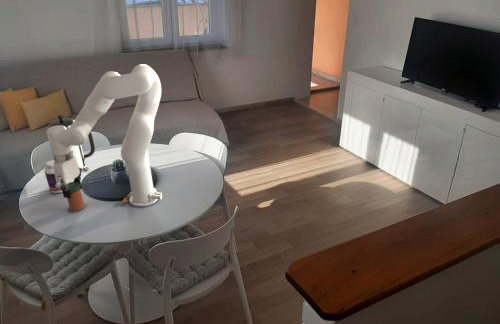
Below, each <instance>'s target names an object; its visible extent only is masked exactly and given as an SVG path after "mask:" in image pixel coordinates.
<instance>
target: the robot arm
mask: <svg viewBox="0 0 500 324" xmlns="http://www.w3.org/2000/svg"><path fill="white" fill-rule="evenodd" d="M135 96H138V97H137V99H136V104H135V107H134V110H133V112H132V115H131V117H130V119H129V123H128V127H127V131H126V134H125V136H124V137H123V141H122V144H121V149H120V157H121V160H122V161H123V162H124V163H125V164H126V170H127V176H128V180H129V185H130V192H132V196H131V197H130V199H128V201H129V203H130V205H131V206H134V207H137V208H138V207H139V208H141V207H148V206H152V205H154V203H156V202H157V201H158V200H160V201H161V200H162V199H163V193H162V192H158V191H157V188H155V187H154V182H153V177H152V170H151V164H150V163H151V162H150V157H149V147H150V144H151V141H152V138H153V135H154V130H155V118H156V116H157V112H158V109H159V105H160V102H161V98H162V83H161V80H160V77H159V76H158V74H157V73H156V71H155V70H154V69H153V68H152V67H151V66H150V65H147V64H143V63H142V64H141V63H140V64H138V65H135V67H133V69H132V70H131V72H130V73H123V74H119V73H118V72H116V71H114V70H113V71H112V70H111V71H107V72H105V73H104V74H103V75H102V76H101V78H100V79H99V80H98V81H97V83H96V84H95V87H94V88H93V90H92V91H91V93H90V94H89V96H88V97H87V99H86V100H85V102H84V105H83V107H82V108H81V110H80V111H79V113H78V114H77V116H76V117H75V119H73V120H74V122H73V123H72V125H71V127H70V128H68V129H67V128H66V127H65V126H61V125H58V126H53V127H50V128H49V127H48V129H46V137H47V139H48V142H49V146H50V150H51V153H52V157H53V160H54V162H53V166H54V174H55V178H56V182H57V183H56V185H55V187H56V188H58V189H60V190H62V192H61V193H62V196H63V198H64V199H67V198H71V194H70V191H69V190H68V183H70V182H79V183H80V186H81V188H80V190H83V186H82V182H81V180H82V178H81V177H82V171H83V169H82V168H80V167H79V166H78V163H77V161H76V158H75V156H74V155H73V151H72V147H71V146H79V145H81V146H82V145H84V144H85V143H86V142H87V140H88V135H89V133H90V132H91V131H92V129H93V128H94V126H95V125H96V123H98V120H99V119H100V118H101V117H102V116H103V115H105V114H107V112H108V110H109V109H110V108H111V106H112V104H113V103H114V102H115V100H119V99H124V98H128V97H129V98H130V97H135ZM63 182H64V183H63ZM64 184H65V187H63V186H64Z"/></svg>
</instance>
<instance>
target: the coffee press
mask: <svg viewBox="0 0 500 324" xmlns="http://www.w3.org/2000/svg"><path fill="white" fill-rule="evenodd" d="M74 120H75V119H73V118H69V117H64V116H63V115H62V114H59V115H58V116H57V119H54V120H53V121H51V122H50V123H49V126H48V129H49V128H50V127H53V126H58V125H61V126H65V127H66V128H67V129H68V128H70V127H71V125H72V123H73V122H74ZM87 139H88V143H89V146H90V150H89V152H88V153H86V154H84V152H83V148H82V145H79V146H71V147H72V151H73V155H74V156H75V158H76V161H77V163H78V166H79V167H80V168H82V171H84V172H88V170H89V167H88V166H87V165H86V159H87V158H90V157H91V156H93V155H94V153H95V151H96V147H95V142H94V137H93V134H92V132H91V131H90V133H89V135H88V137H87Z"/></svg>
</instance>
